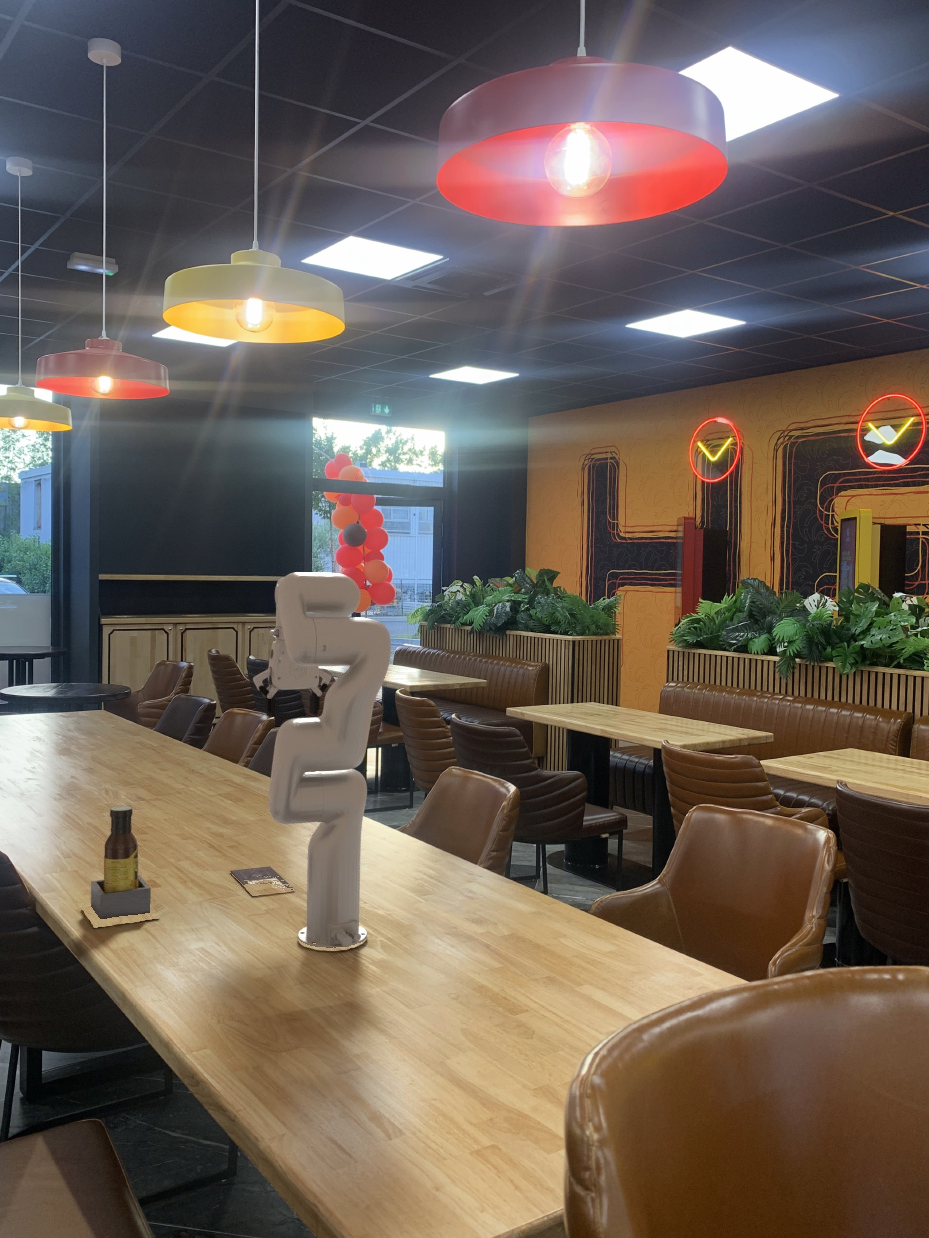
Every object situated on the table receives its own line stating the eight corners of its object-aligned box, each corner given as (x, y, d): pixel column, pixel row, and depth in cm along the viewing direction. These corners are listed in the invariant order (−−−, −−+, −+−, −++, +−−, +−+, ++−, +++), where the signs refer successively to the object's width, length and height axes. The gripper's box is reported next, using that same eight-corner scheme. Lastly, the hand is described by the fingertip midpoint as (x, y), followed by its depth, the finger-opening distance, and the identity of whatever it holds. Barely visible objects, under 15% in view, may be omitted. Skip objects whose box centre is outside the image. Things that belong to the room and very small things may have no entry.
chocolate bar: (269, 866, 225) (295, 889, 209) (269, 870, 225) (294, 893, 209) (230, 870, 221) (252, 894, 205) (230, 874, 221) (252, 899, 205)
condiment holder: (159, 918, 191) (159, 889, 191) (93, 928, 185) (93, 898, 185) (144, 900, 201) (145, 872, 201) (81, 909, 195) (82, 880, 195)
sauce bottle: (142, 912, 192) (143, 809, 191) (108, 917, 189) (109, 813, 188) (132, 902, 197) (133, 803, 197) (99, 908, 194) (100, 806, 193)
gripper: (260, 636, 205) (259, 719, 206) (338, 636, 214) (336, 715, 215) (248, 634, 211) (247, 715, 212) (324, 633, 220) (323, 711, 221)
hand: (292, 715), depth 213 cm, fingers open, 9 cm apart
